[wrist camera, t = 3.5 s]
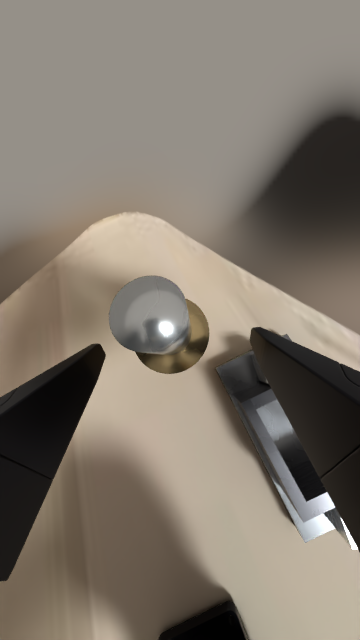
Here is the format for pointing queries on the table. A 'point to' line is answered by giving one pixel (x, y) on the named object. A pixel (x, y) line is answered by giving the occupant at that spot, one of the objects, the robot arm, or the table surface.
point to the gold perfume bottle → (159, 324)
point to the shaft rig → (280, 449)
